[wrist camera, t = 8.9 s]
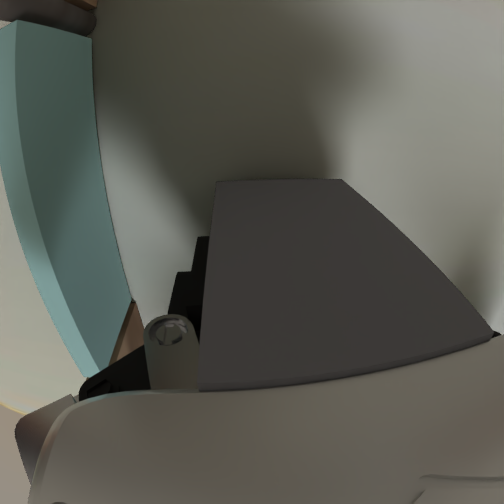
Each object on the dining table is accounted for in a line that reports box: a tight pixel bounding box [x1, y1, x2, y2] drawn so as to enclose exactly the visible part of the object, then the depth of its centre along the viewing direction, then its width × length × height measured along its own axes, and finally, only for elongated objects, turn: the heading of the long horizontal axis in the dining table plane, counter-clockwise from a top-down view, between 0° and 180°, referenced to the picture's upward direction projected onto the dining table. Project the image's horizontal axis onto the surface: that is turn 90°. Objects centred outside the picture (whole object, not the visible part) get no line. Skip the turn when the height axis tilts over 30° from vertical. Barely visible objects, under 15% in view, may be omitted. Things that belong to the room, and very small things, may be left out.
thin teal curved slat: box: [0, 20, 132, 377], centre depth 9 cm, size 13×1×5 cm, turn 1°
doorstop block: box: [197, 179, 494, 391], centre depth 9 cm, size 6×5×9 cm
